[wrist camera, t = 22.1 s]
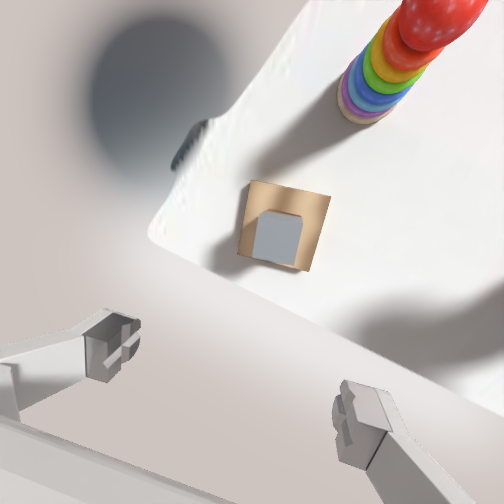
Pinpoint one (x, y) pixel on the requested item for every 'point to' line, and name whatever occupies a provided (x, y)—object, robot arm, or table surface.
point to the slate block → (277, 237)
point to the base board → (288, 201)
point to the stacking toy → (401, 55)
